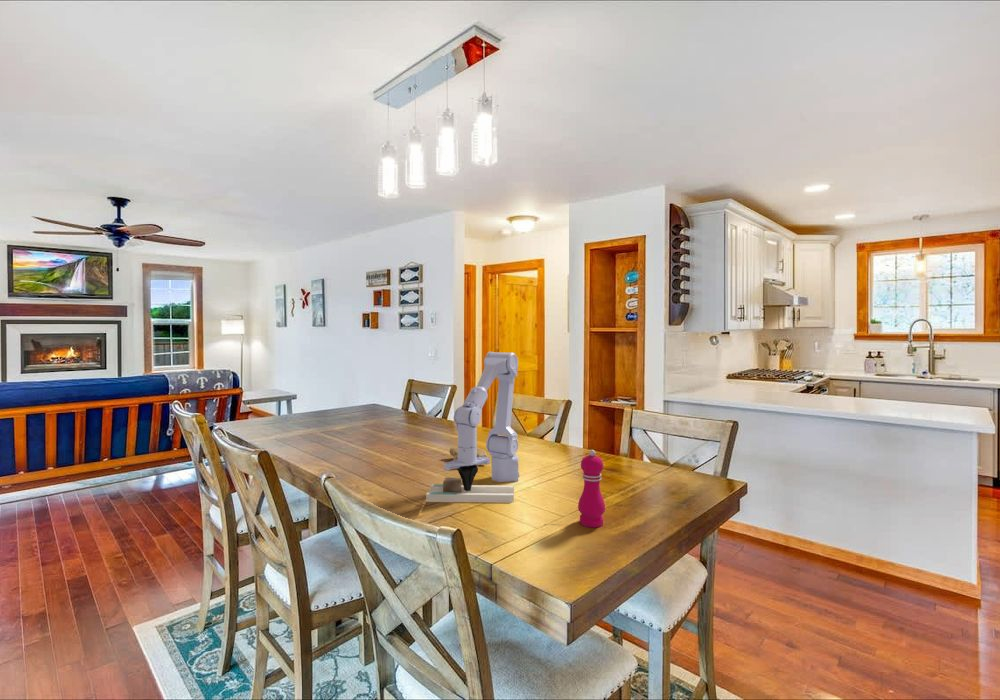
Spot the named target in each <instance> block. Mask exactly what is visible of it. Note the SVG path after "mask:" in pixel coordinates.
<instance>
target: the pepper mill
mask: <svg viewBox="0 0 1000 700" xmlns="http://www.w3.org/2000/svg"><path fill="white" fill-rule="evenodd" d="M580 468H581V470H582V472H583V473H582V479H583V489H582V490H583V491H582V493H581V495H580V496H579V497H580V498H579V500H578V502H577V503H578V505H577V508H578V509H577V510H578V511H579V512H580V515H579V523H580V525H582V526H583V527H587V528H600V527H602V526H603V525H604V516H603V514H604V513H605V511H606V503H605V500H604V496H603V495H602V491H601V489H600V488H601V485H600V483H601V481H602V471H603V470H604V461H603V460H602V458H601V457H599V456H598V455H596V451H595V450H594V449H590V450H589V451H588V455H585V456H584V457H583V458H582V459H581V461H580Z"/></svg>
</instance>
